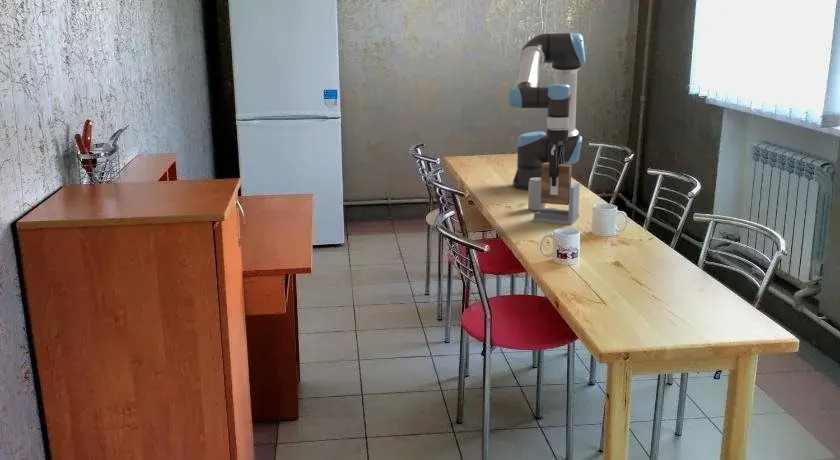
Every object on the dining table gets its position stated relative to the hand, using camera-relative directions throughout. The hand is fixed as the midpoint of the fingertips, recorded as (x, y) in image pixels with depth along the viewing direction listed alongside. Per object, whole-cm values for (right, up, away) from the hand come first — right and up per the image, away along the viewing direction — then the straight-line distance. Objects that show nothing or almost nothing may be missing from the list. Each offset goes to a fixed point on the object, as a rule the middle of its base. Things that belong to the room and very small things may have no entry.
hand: (555, 193), depth 285 cm
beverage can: (-4, -6, +16) cm, 18 cm away
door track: (+1, -9, +2) cm, 10 cm away
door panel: (0, -3, +1) cm, 4 cm away
